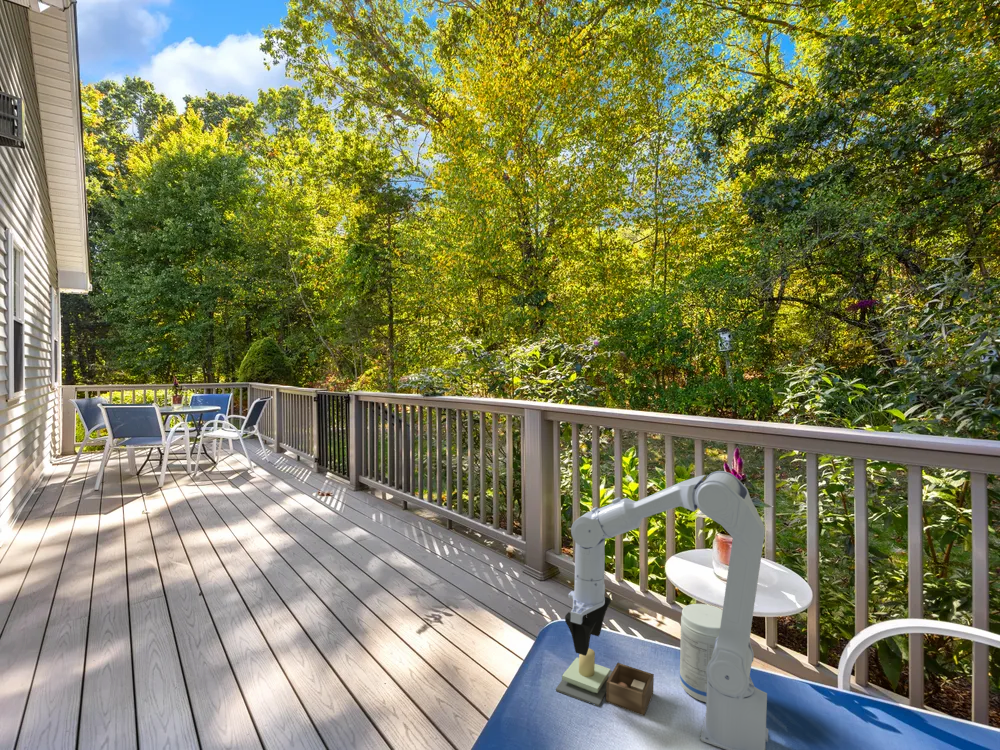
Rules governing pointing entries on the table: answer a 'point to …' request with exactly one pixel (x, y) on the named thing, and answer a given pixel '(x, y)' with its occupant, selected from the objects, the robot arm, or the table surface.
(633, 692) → the box
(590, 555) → the robot arm
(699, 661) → the supplement tub
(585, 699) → the mat
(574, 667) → the lid
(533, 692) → the table surface
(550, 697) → the table surface
